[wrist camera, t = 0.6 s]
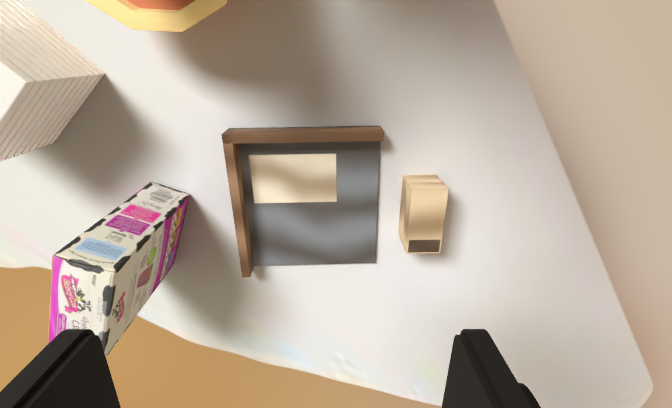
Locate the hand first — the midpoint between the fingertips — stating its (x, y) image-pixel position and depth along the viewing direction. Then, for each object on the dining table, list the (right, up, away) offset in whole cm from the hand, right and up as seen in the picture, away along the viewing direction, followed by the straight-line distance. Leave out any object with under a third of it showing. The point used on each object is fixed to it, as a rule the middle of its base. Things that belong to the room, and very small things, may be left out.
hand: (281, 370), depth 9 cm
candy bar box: (-20, +2, +35) cm, 41 cm away
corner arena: (-2, +5, +34) cm, 34 cm away
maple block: (+12, +4, +35) cm, 37 cm away
